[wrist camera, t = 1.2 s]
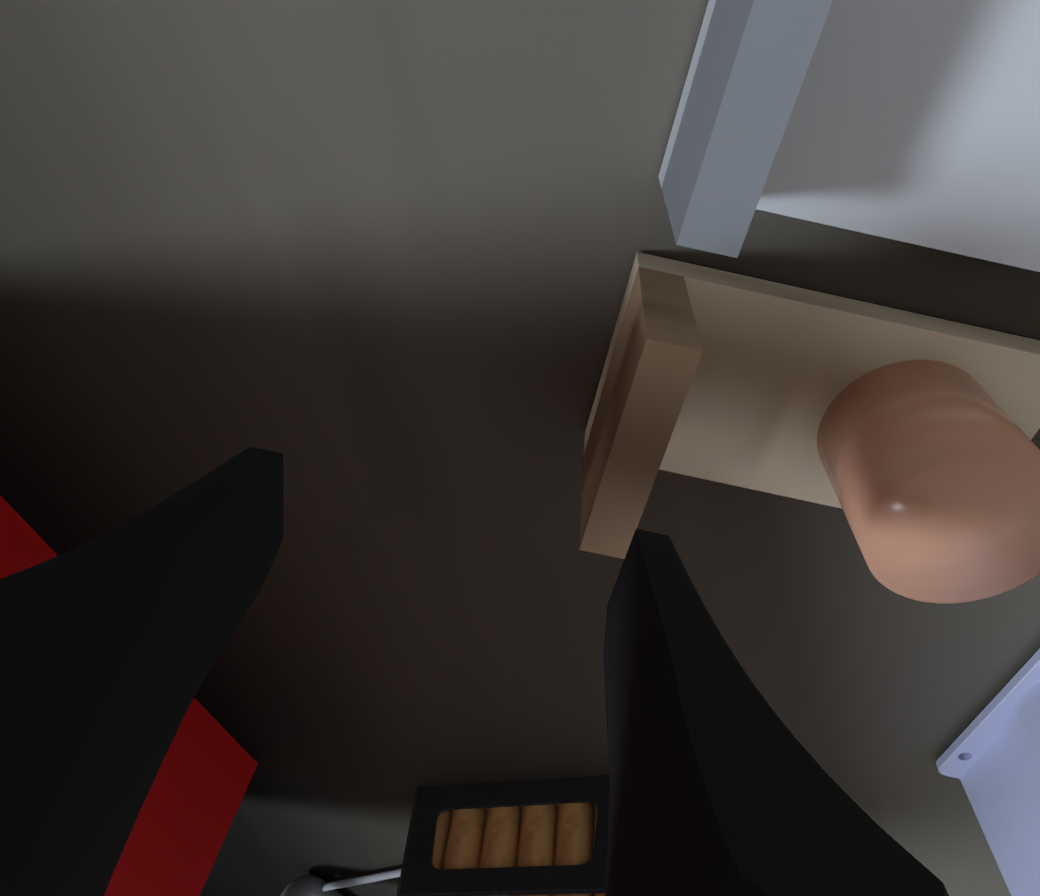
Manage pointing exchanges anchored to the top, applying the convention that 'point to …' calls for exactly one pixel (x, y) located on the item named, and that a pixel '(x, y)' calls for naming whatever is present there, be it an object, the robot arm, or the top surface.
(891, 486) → the canister
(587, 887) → the cigar case
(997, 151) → the pale blue block
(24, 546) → the book
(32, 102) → the top surface
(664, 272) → the tan notched piece
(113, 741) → the robot arm
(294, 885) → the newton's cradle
